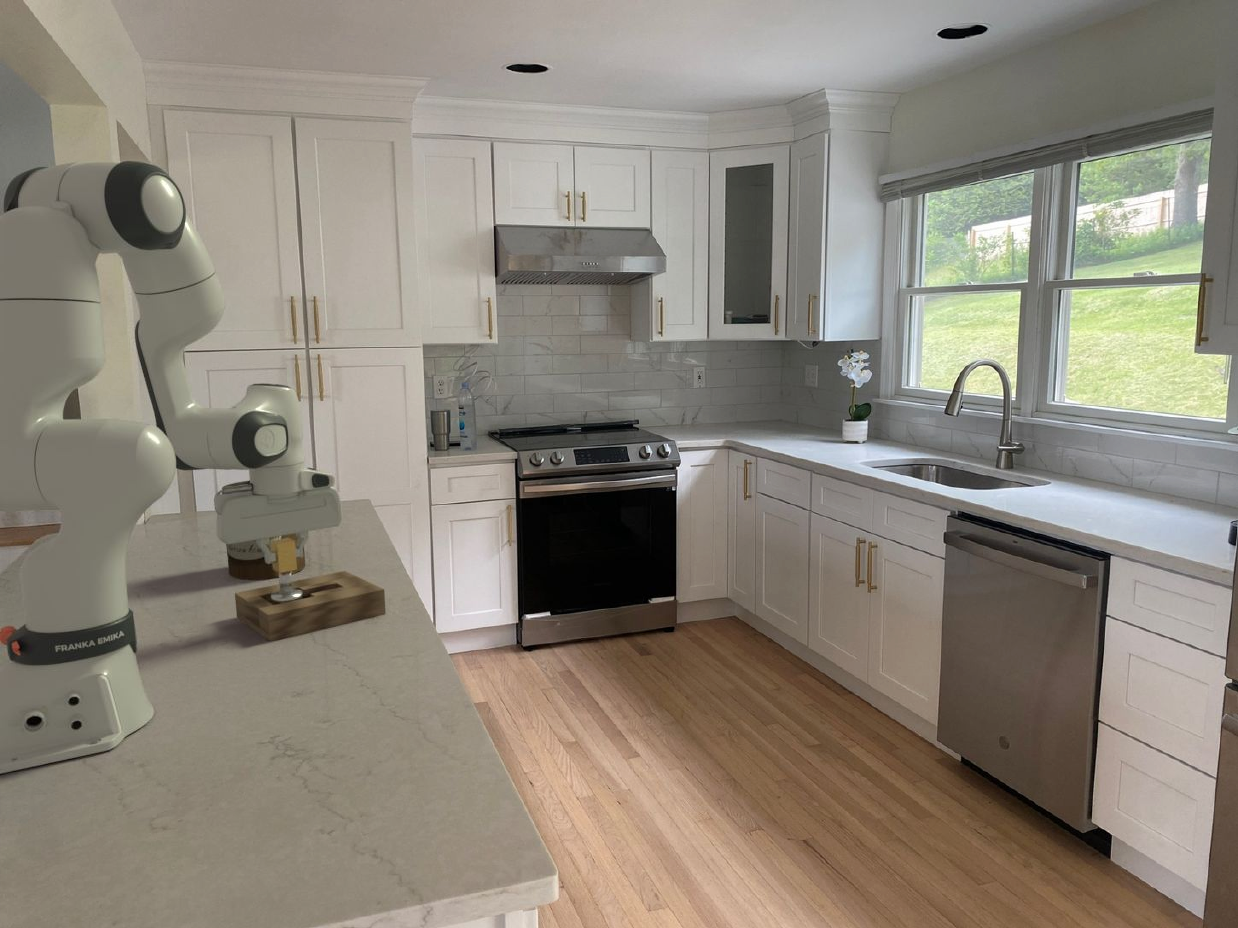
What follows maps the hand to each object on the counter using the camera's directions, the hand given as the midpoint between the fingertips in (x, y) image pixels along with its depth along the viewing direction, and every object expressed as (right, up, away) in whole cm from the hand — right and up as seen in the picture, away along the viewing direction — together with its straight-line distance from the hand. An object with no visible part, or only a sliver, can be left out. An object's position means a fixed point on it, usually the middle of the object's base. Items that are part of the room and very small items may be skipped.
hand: (284, 560), depth 149 cm
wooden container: (-16, -6, +34) cm, 38 cm away
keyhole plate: (+3, -10, +4) cm, 11 cm away
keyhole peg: (0, -7, +1) cm, 7 cm away
